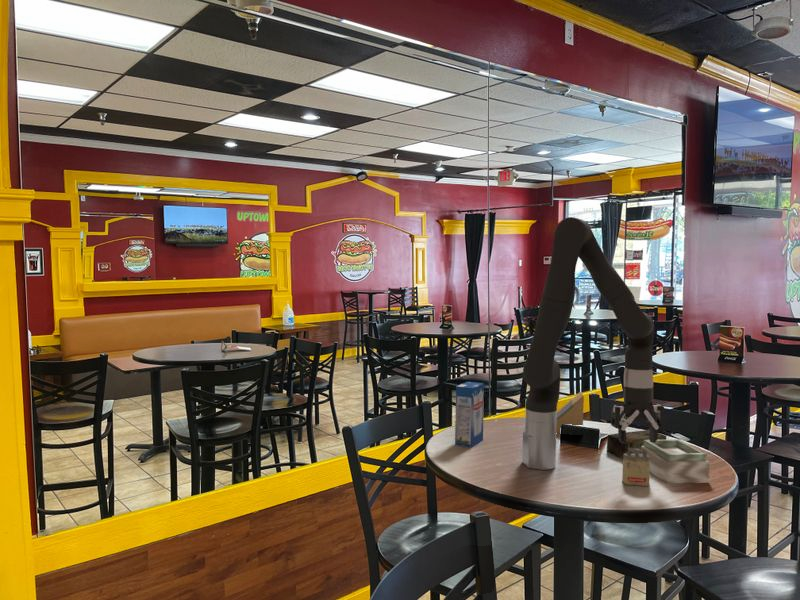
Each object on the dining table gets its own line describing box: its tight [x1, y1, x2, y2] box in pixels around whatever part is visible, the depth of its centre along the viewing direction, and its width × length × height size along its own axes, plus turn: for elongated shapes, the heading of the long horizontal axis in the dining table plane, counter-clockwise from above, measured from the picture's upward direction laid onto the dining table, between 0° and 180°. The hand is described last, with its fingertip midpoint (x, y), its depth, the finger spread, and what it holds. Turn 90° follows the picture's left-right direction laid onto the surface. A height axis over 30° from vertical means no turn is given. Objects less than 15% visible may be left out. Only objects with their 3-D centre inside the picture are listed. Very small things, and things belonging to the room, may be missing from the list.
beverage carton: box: [606, 429, 667, 460], centre depth 184 cm, size 8×19×7 cm, turn 114°
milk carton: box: [454, 381, 485, 448], centre depth 193 cm, size 10×6×20 cm, turn 150°
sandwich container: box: [556, 390, 585, 435], centre depth 207 cm, size 9×15×15 cm, turn 78°
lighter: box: [621, 448, 651, 487], centre depth 156 cm, size 7×4×10 cm, turn 79°
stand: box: [641, 438, 710, 484], centre depth 164 cm, size 12×15×8 cm
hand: (637, 442), depth 156 cm, fingers open, 8 cm apart
